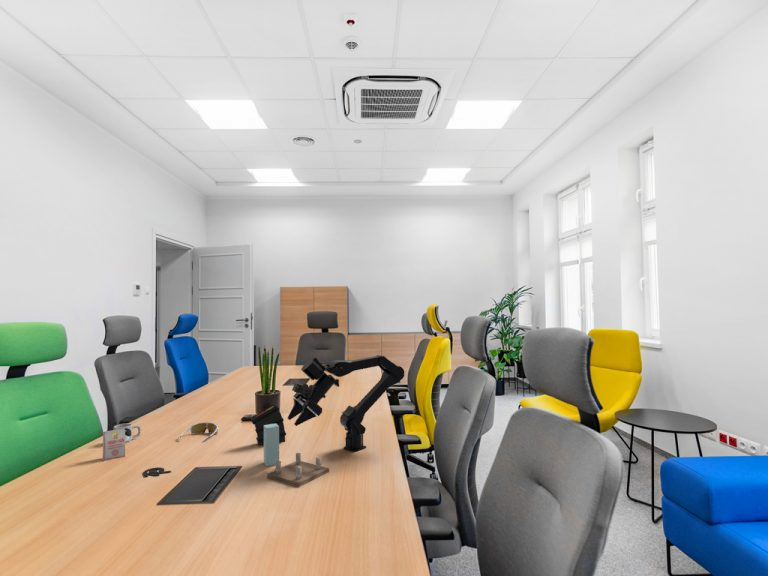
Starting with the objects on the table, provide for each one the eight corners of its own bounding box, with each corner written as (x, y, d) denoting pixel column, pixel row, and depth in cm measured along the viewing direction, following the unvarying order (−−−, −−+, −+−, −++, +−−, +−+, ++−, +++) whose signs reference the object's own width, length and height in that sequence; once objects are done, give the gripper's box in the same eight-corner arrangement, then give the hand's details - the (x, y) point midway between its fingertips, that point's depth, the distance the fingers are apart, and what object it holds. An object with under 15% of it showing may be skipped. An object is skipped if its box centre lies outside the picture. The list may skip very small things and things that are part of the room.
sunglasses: (223, 432, 189) (222, 421, 188) (206, 448, 174) (205, 436, 173) (193, 432, 190) (192, 421, 190) (174, 447, 175) (173, 436, 175)
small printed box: (102, 458, 158) (103, 430, 158) (123, 454, 162) (124, 427, 162) (103, 460, 155) (103, 432, 155) (125, 456, 159) (125, 429, 159)
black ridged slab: (293, 436, 175) (277, 404, 173) (263, 455, 170) (246, 422, 168) (291, 434, 178) (275, 403, 176) (262, 452, 173) (245, 420, 171)
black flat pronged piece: (175, 471, 144) (175, 469, 144) (156, 480, 137) (156, 478, 137) (154, 468, 147) (154, 466, 147) (134, 477, 140) (134, 474, 140)
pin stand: (298, 463, 148) (298, 450, 149) (328, 471, 141) (328, 457, 141) (267, 477, 137) (267, 462, 137) (299, 486, 129) (299, 471, 129)
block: (276, 460, 153) (276, 423, 153) (279, 464, 149) (279, 426, 149) (263, 462, 150) (263, 425, 151) (266, 466, 147) (266, 428, 147)
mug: (114, 445, 173) (115, 428, 173) (112, 441, 178) (112, 425, 178) (142, 439, 179) (142, 424, 180) (139, 436, 184) (139, 421, 185)
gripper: (298, 371, 165) (269, 403, 160) (313, 377, 149) (282, 413, 143) (318, 389, 168) (290, 421, 163) (334, 397, 152) (305, 433, 146)
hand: (291, 422), depth 154 cm, fingers open, 9 cm apart
